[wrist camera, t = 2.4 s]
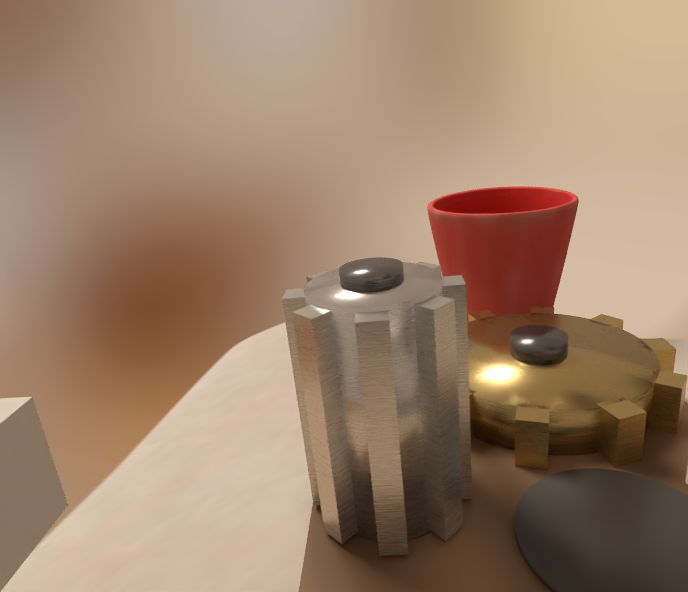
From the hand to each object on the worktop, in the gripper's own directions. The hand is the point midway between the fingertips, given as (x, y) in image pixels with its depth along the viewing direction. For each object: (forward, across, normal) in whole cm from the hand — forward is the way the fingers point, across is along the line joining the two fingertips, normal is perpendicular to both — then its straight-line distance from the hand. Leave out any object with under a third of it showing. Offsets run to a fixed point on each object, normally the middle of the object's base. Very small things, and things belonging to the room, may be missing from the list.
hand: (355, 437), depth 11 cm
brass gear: (+18, +9, -10) cm, 22 cm away
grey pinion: (+10, 0, -10) cm, 14 cm away
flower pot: (+32, +10, -11) cm, 35 cm away
